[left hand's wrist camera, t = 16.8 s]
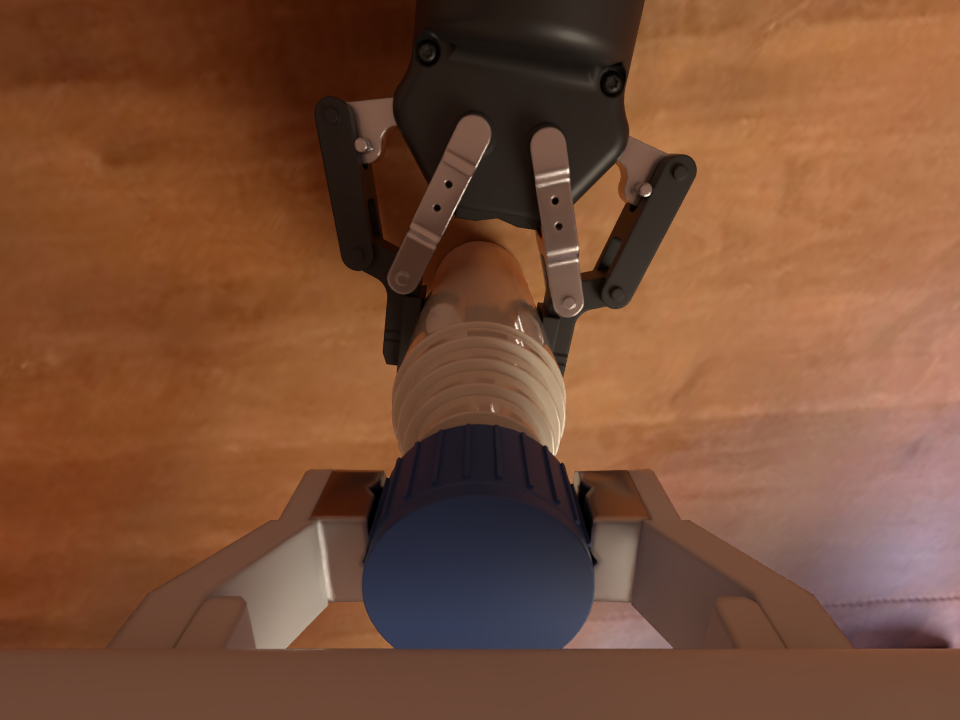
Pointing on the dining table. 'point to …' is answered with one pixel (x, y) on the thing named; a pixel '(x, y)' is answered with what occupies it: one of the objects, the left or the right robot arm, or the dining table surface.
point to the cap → (478, 546)
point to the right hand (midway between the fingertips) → (471, 380)
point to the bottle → (479, 354)
